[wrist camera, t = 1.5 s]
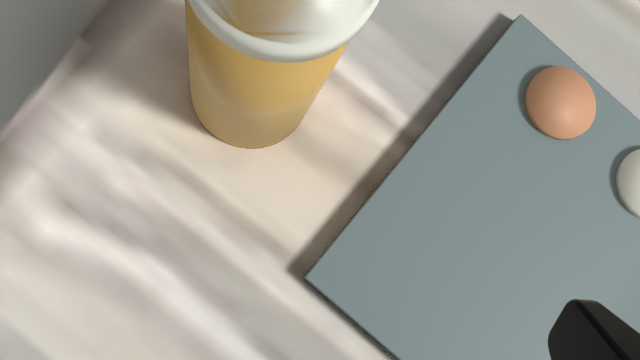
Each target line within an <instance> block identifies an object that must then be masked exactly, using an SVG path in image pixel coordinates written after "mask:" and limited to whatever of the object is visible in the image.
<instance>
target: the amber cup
mask: <svg viewBox="0 0 640 360" xmlns="http://www.w3.org/2000/svg"><path fill="white" fill-rule="evenodd" d="M378 2H379V0H185V7H186V23H187V39H188V55H189V70H190V86H191V98H192V103H193V107H194V110H195V112H196V114H197V116H198V118H199V120H200V121H201V123H202V124H203V125H204V127H205V128H206V129H207V130H208V131H209V132H210V133H211V134H212V135H214V136H215V137H216V138H218V139H219V140H221V141H223V142H225V143H227V144H230V145H232V146H236V147H240V148H246V149H257V148H264V147H268V146H271V145H274V144H276V143H278V142H280V141H282V140H284V139H285V138H286V137H288V136H289V135H290V134H291V133H292V132H293V131H294V130H295V129H296V128H297V126H298V125H299V124H300V122H301V120H302V119H303V117H304V115H305V114H306V112H307V110H308V109H309V107H310V106H311V104H312V102H313V101H314V99H315V97H316V96H317V94H318V92H319V91H320V89H321V87H322V86H323V84H324V82H325V81H326V79H327V78H328V76H329V74H330V73H331V71H332V69H333V68H334V66H335V64H336V63H337V61H338V59H339V58H340V56H341V54H342V53H343V51H344V50H345V48H346V46H347V45H348V43H349V41H350V40H351V39H352V38H354V37H355V36H356V35H357V34H358V32H359V31H360V30H361V29H362V27H363V26H364V25H365V23H366V22H367V20H368V19H369V17H370V15H371V14H372V12H373V11H374V9H375V7H376V5H377V4H378Z"/></svg>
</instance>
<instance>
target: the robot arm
mask: <svg viewBox="0 0 640 360" xmlns="http://www.w3.org/2000/svg"><path fill="white" fill-rule="evenodd" d="M548 350H549V354H550V358H551V360H640V333H638V332H637V331H636V330H634V329H633V328H632V327H631V326H629V325H628V324H627V323H625V322H624V321H623V320H622V319H620V318H619V317H618V316H616V315H615V314H614V313H612V312H611V311H610V310H609V309H607V308H606V307H605V306H603V305H602V304H601V303H599V302H597V301H594V300H584V299H572V300H570V301H569V302H567V303H566V305H565V306H564V308H563V310H562V311H561V313H560V315H559V316H558V318H557V320H556V322H555V323H554V325H553V327H552V328H551V330H550V332H549V335H548Z"/></svg>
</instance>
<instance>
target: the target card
mask: <svg viewBox="0 0 640 360" xmlns="http://www.w3.org/2000/svg"><path fill="white" fill-rule="evenodd" d="M303 278H304V279H305V280H307V281H308V282H309V283H310V284H311V285H312V286H314V287H315V288H316V289H317V290H318V291H319V292H321V293H322V294H323V295H324V296H325V297H326V298H327V299H329V300H330V301H331V302H332V303H333V304H334V305H336V306H337V307H338V308H339V309H340V310H341V311H343V312H344V313H345V314H346V315H347V316H348V317H350V318H351V319H352V320H353V321H354V322H355V323H356V324H358V325H359V326H360V327H361V328H362V329H363V330H365V331H366V332H367V333H368V334H369V335H370V336H372V337H373V338H374V339H375V340H376V341H377V342H379V343H380V344H381V345H382V346H383V347H384V348H385V349H387V350H388V351H389V352H390V353H391V354H392V355H394V356H395V357H396V358H397V359H398V360H551V358H550V354H549V350H548V335H549V332H550V330H551V328H552V327H553V325H554V323H555V322H556V320H557V318H558V316H559V315H560V313H561V311H562V310H563V308H564V306H565V305H566V303H567V302H569V301H570V300H572V299H584V300H594V301H597V302H599V303H601V304H602V305H603V306H605V307H606V308H607V309H609V310H610V311H611V312H612V313H614V314H615V315H616V316H618V317H619V318H620V319H622V320H623V321H624V322H625V323H627V324H628V325H629V326H631V327H632V328H633V329H634V330H636V331H637V332H638V333H640V120H639V119H638V118H637V117H635V116H634V115H633V114H632V113H631V112H630V111H629V110H628V109H627V108H625V107H624V106H623V105H622V104H621V103H620V102H619V101H618V100H617V99H615V98H614V97H613V96H612V95H611V94H610V93H609V92H608V91H607V90H605V89H604V88H603V87H602V86H601V85H600V84H599V83H598V82H596V81H595V80H594V79H593V78H592V77H591V76H590V75H589V74H588V73H586V72H585V71H584V70H583V69H582V68H581V67H580V66H579V65H578V64H576V63H575V62H574V61H573V60H572V59H571V58H570V57H569V56H568V55H566V54H565V53H564V52H563V51H562V50H561V49H560V48H559V47H557V46H556V45H555V44H554V43H553V42H552V41H551V40H550V39H549V38H547V37H546V36H545V35H544V34H543V33H542V32H541V31H540V30H539V29H537V28H536V27H535V26H534V25H533V24H532V23H531V22H530V21H529V20H527V19H526V18H525V17H524V16H523V15H522V14H521V15H519V16H518V17H517V18H516V19H515V20H514V21H513V22H512V23H511V24H510V26H509V27H508V28H507V29H506V30H505V32H504V33H503V34H502V35H501V37H500V38H499V39H498V40H497V41H496V43H495V44H494V45H493V46H492V48H491V49H490V50H489V51H488V52H487V54H486V55H485V56H484V57H483V59H482V60H481V61H480V62H479V63H478V65H477V66H476V67H475V68H474V70H473V71H472V72H471V73H470V74H469V76H468V77H467V78H466V79H465V81H464V82H463V83H462V84H461V85H460V87H459V88H458V89H457V90H456V92H455V93H454V94H453V95H452V96H451V98H450V99H449V100H448V101H447V103H446V104H445V105H444V106H443V107H442V109H441V110H440V111H439V112H438V114H437V115H436V116H435V117H434V118H433V120H432V121H431V122H430V123H429V125H428V126H427V127H426V128H425V129H424V131H423V132H422V133H421V134H420V136H419V137H418V138H417V139H416V140H415V142H414V143H413V144H412V145H411V146H410V148H409V149H408V150H407V151H406V153H405V154H404V155H403V156H402V157H401V159H400V160H399V161H398V162H397V164H396V165H395V166H394V167H393V168H392V170H391V171H390V172H389V173H388V175H387V176H386V177H385V178H384V179H383V181H382V182H381V183H380V184H379V186H378V187H377V188H376V189H375V190H374V192H373V193H372V194H371V195H370V197H369V198H368V199H367V200H366V201H365V203H364V204H363V205H362V206H361V208H360V209H359V210H358V211H357V212H356V214H355V215H354V216H353V217H352V219H351V220H350V221H349V222H348V223H347V225H346V226H345V227H344V228H343V230H342V231H341V232H340V233H339V234H338V236H337V237H336V238H335V239H334V241H333V242H332V243H331V244H330V245H329V247H328V248H327V249H326V250H325V252H324V253H323V254H322V255H321V256H320V258H319V259H318V260H317V261H316V263H315V264H314V265H313V266H312V267H311V269H310V270H309V271H308V272H307V274H306V275H305V276H304V277H303Z"/></svg>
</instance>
